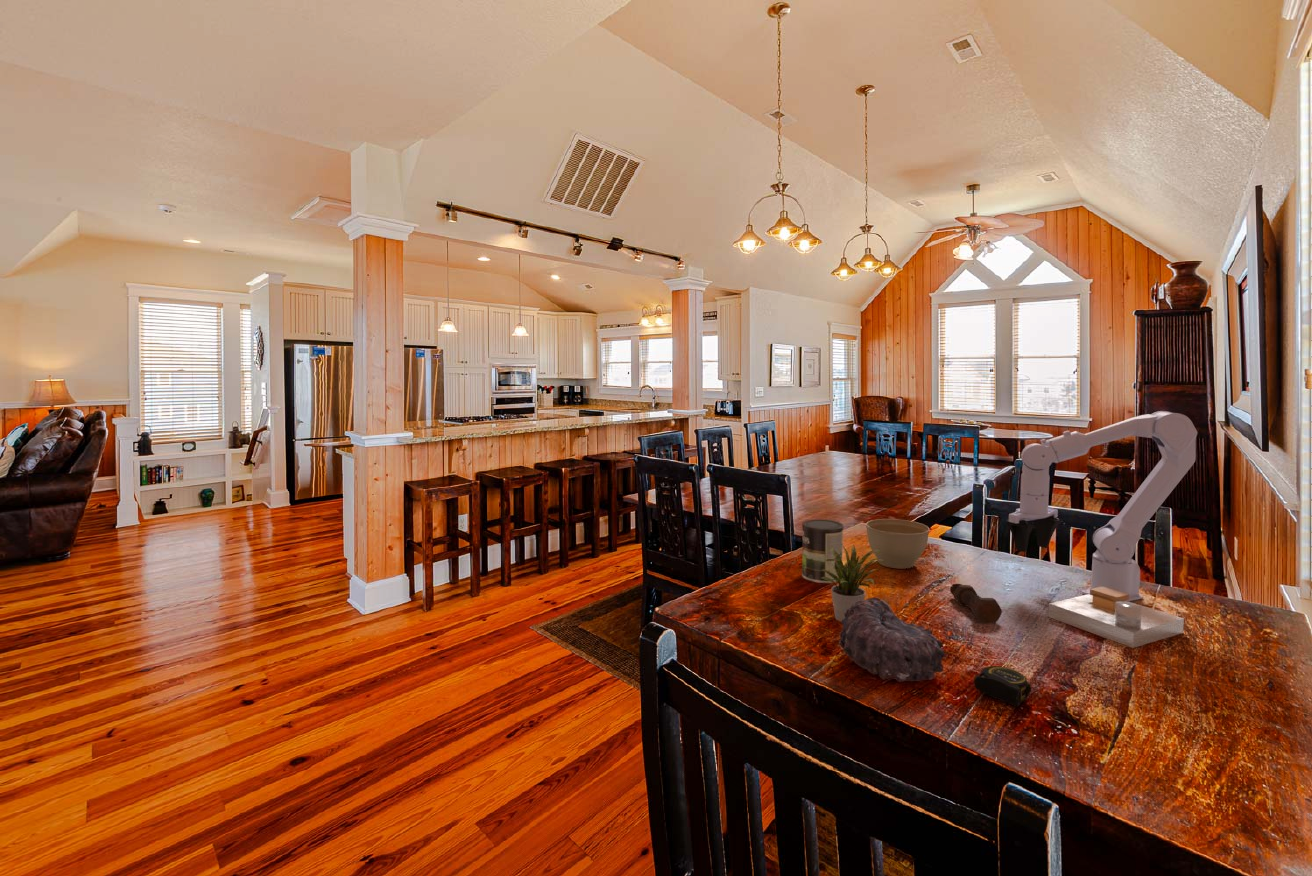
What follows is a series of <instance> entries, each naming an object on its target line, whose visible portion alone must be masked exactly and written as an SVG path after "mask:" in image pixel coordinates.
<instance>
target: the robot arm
mask: <svg viewBox="0 0 1312 876" xmlns="http://www.w3.org/2000/svg"><path fill="white" fill-rule="evenodd" d="M1197 436H1198V430H1197V429H1196V427H1195V425H1194V424H1193V421H1192V420H1191V419H1190V417H1188V416H1187V415H1185V414H1183V413H1177V412H1171V411H1168V410H1167V411H1166V410H1160V411H1159V410H1158V411H1155V412H1153V413H1151V414H1150V413H1147V414H1141V415H1138V416H1134V417H1130V418H1127V419H1125V420H1122V421H1118V422H1116V423H1113V424H1110V425H1107V426H1104V427H1102V428H1098V429H1096V430H1093V431H1090V432H1086V433H1081V432H1080V431H1076V430H1074V431H1072V432H1071V431H1070V430H1065V431H1062V435H1059V436H1055V437H1053V438H1050V439H1045V438H1043V439H1040V443H1031V444H1027V445H1026V446H1025V447H1024V448H1023V449H1022V451H1021V453H1020V458H1021V461H1022V462H1023V463H1022V467H1021V471H1022V473H1021V475H1020V498H1019V501H1020V502H1019V508H1016V509H1015V512H1012V513H1009V514H1008V519H1007V520H1006V526H1007V527H1008V529H1009V531H1010V532H1011V536H1012V538H1013V541H1014V546H1015V547H1014V548H1015V550H1016V551H1019V552H1022V553H1026V552H1027V551H1028V546H1029V540H1030V539H1029V538H1030V535H1031V532H1032V530H1033V529H1034V526H1035V532H1036V545H1037V547H1041V548H1042V549H1048V548H1049V545H1050V542H1051V539H1052V537H1053V535H1054V533H1055V531H1056V530H1057V528H1058V526H1059V525H1060V524H1061V519H1060V518H1059V519H1058V516H1059V514H1058V513H1059V512H1058V511H1059V510H1058V509H1057V508H1052V507H1049V495H1050V480H1051V479H1050V478H1051V477H1050V466H1051V465H1052V463H1055V464H1058V463H1061V462H1064V461H1069V460H1071V459H1075V458H1077V457H1081V456H1085V455H1087V454H1088V452H1089V451H1090V449H1091V448H1092V447H1095V446H1098V445H1103V444H1106V443H1110V442H1113V441H1117V440H1121V439H1125V438H1129V437H1141V438H1150V439H1152V440H1153V441H1154V442H1155V443H1156V445H1157V448H1158V450H1159V452H1160V454H1161V459H1160V460H1159V461H1158V462H1157V464H1156V465H1155V466H1154V467H1153V469H1152V470H1151V471H1150V473H1149V474H1148V475H1147V477H1146V478H1145V479H1144V481H1143V482H1142V483H1141V485H1140V486H1139V487H1138V489H1136V491H1135V492H1134V494H1133V495H1132V496H1131V497H1130V499H1128V501H1127V503H1126V504H1125V505H1124V507H1123V508H1122V509H1121V510H1120V512H1119V513H1117V515H1116V516H1114V517H1113V518H1111V519H1110V520H1109V521H1108V522H1107V524H1105V525H1104V526H1101V527H1100V528H1097V529H1096V530H1095V531H1094V532H1093V534H1092V542H1093V544H1094V546H1095V547H1096V551H1095V552H1093V553H1092V564H1091V578H1090V579H1091V580H1090V589H1093V588H1097V587H1106V588H1109V589H1113V590H1116V591H1120V592H1123V593H1126V594H1129V600H1127V601H1129V602H1133V601H1137V600H1141V599H1143V598H1144V595H1142V594H1140V584H1141V583H1140V582H1141V569H1140V566H1139V564H1138V563H1137V562H1136V560H1134V559H1133V556H1134V554H1135V551H1136V545H1137V543H1138V542H1139V541H1140V539H1141V535H1142V531H1143V528H1144V527H1145V526H1146V525H1147V523H1148V522H1149V521H1150V519H1151V518H1152V517H1153V516H1154V514H1155V513H1156V512H1157V511H1158V509H1159V508H1160V507H1161V506H1162V504H1163V503H1164V502H1165V500H1167V498H1168V497H1169V495H1170V494H1171V493H1172V491H1173V490H1174V489H1175V488H1176V487H1177V485H1178V484H1179V483H1180V481H1182V479H1183V478H1185V477H1184V476H1185V475H1187V473H1188V471H1190V469H1191V468H1192V467H1193V466H1194V463H1195V462H1196V457H1197V455H1196V454H1197V453H1196V452H1197V450H1196V449H1197V447H1196V443H1197V442H1196V439H1197ZM1029 521H1033V523H1034V525H1032V524H1028V523H1027V522H1029ZM1090 589H1085V590H1084V589H1083V590H1081V594H1083V595H1087V594H1090Z"/></svg>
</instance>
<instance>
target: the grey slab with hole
mask: <svg viewBox="0 0 1312 876" xmlns="http://www.w3.org/2000/svg"><path fill="white" fill-rule="evenodd" d="M1092 600H1093V595H1090V594H1087V595H1086V594H1083V595H1078V596H1076V597H1071V598H1066V599H1063V600H1057V601H1054V602H1050V603H1048V618H1051V619H1053V620H1056V621H1058V622H1061V623H1064V624H1067V625H1069V626H1072V627H1075V628H1076V629H1077V628H1078V629H1080V630H1083V631H1086V632H1089V633H1091V634H1094V635H1096V636H1098V637H1102V638H1104V639H1107V640H1110V641H1113V642H1116V643H1119V644H1121V645H1123V646H1126V647H1129V648H1131V649H1134V648H1137V647H1141V646H1144V645H1148V644H1151V643H1154V642H1157V641H1160V640H1164V639H1168V638H1171V637H1174V636H1177V635H1181V634H1183V633H1184V625H1185V618H1183V617H1181V616H1177V615H1174V614H1172V613H1167V612H1166V611H1165V612H1164V611H1162V610H1159V609H1153V608H1151V607H1148V606H1144V605H1141V604H1138V603H1135V602H1133V601H1126V602H1123V601H1119V602H1116V603H1115V612H1112V611H1109V610H1106V609H1103V608H1100V607H1097V606H1094V605H1092Z"/></svg>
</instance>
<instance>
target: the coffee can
mask: <svg viewBox="0 0 1312 876" xmlns="http://www.w3.org/2000/svg"><path fill="white" fill-rule="evenodd" d="M801 526H802V548H801V549H802V553H801V554H802V562H801V563H802V564H801V565H802V568H801V569H802V570H801V571H802V573H801V576H802V578H803V579H805V580H806V581H809V582H813V583H817V584H818V583H819V584H834V583H833V582H831V581H829V580H826V579H823V578H822V577H828V578H830V579H831V580H833V581H834V582H835V584H836V583H837V582H836V580H835V579H834V578H833V577H831V576H830V575H828V574H827V573H826V572H825V571H823V570H822V569H824V570H827V571H829V572H831V573H833V574H834V575H836V576H837V573H836V570H835V569H834V567H835V566H834V564H835V561H836V559H835V557H834V555H833V552H832V550H831V548H830V547H832V548H833V549H834V550H835V551H836V552H837V553H838V554H839V555H840V557H841V559H842V560H843V550H844V549H843V547H842V545H843V544H844V542H843V540H844V539H843V538H844V524H843V523H842V522H839V521H836V520H832V519H821V518H819V519H818V518H817V519H815V518H814V519H808V520H805V521H803V522H802V524H801ZM840 543H841V544H842V545H841V544H840ZM829 546H830V547H829ZM843 546H844V545H843ZM816 553H817V554H816ZM819 554H820V555H819ZM821 555H822V556H821ZM823 556H824V557H825V558H824V557H823ZM829 561H830V562H831V563H830V562H829ZM833 566H834V567H833ZM837 577H838V576H837ZM838 578H839V577H838Z"/></svg>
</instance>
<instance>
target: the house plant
mask: <svg viewBox="0 0 1312 876" xmlns="http://www.w3.org/2000/svg"><path fill="white" fill-rule="evenodd" d="M840 544H841V543H840ZM841 545H842V544H841ZM829 547H830V546H829ZM842 547H843V550H844V552H845V553H844V554H845V557H846V562H843V558H842V559H841V557H840V555H839V554H838V553H837V552H836V551H835V550H834V549H833V548H832V547H830V548H831V550H832V552H833V555H834V557H835V559H836V561H835V564H834V566H835V567H834V566H833V567H834V569H835V570H836V573H837V576H838V577H839V578H838V577H837V576H836V575H834V574H833V573H831V572H829V571H827V570H824V569H822V570H823V571H825V572H826V573H827V574H828V575H830V576H831V577H833V578H834V579H835V580H836V583H837V584H836V583H835V582H834V581H833V580H831V579H830V578H828V577H822V578H823V579H826V580H829V581H831V582H833V583H832V584H834V585H833V586H832V587H831V589H830V592H831V598H832V605H833V606H832V607H833V610H834V611H833V612H834V619H835V620H836V621H839V622H840V623H842V620H843V619H844V618H845V615H844V613H846V611H847V609H848V608H851V606H852V605H854V604H855V603H856V602H857V601H862V600H866V599H865V598H866V592H867V591H866V590H865V589H863V588H861V587H860V586H862V587H868V588H870V589H872V587H871V585H870V584H869V583H866V582H871V583H872V584H873V585H875V580H874V579H873V578H867V577H868V576H870V575H871V573H872V572H874V571H877V570H879V568H875V569H873V568H872V569H871V570H869V571H866V570H867V569H868V568H869V566H870V565H871V564H872V563H874V562H875V561H877V560H881V558H877V557H876V558H873V559H871V560H870V561H869V562H868V563H867V564H866V565H865V566H864V567H863V568H862V569H861V567H862V566H863V565H864V563H865V562H866V560H867V559H868V558H869V557H870V556H872V554H874V552H875V551H878V550H881V549H878V550H873V551H872V550H870V551H868V552H866V554H864V555H863V554H861V555H858V554H857V550H856V546H855V544H852V546H851V550H850V551H851V553H850V554H851V555H849V553H848V550H847V549H846V548H845V546H844V545H842ZM816 554H817V553H816ZM819 555H820V554H819ZM857 555H858V556H857ZM821 556H822V555H821ZM861 556H862V557H861ZM823 557H824V556H823ZM860 557H861V558H860ZM824 558H825V557H824ZM882 561H885V560H882ZM829 562H830V561H829ZM830 563H831V562H830ZM865 581H866V582H865Z"/></svg>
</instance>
